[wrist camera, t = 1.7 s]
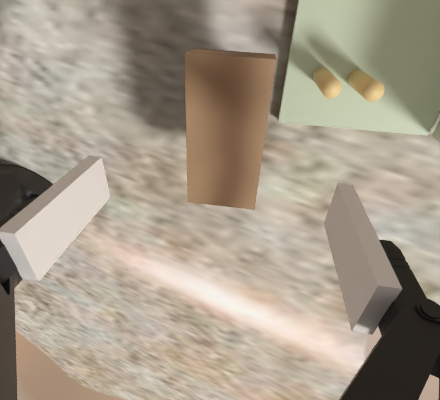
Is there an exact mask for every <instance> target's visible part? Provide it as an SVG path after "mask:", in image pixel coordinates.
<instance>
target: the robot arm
mask: <svg viewBox="0 0 440 400" xmlns="http://www.w3.org/2000/svg"><path fill="white" fill-rule="evenodd" d="M109 198H110V193H109V189H108V184H107V179H106V175H105V170H104V166H103V161H102V157H95V156H88V157H87V158H86V159H84V160H83V161H82V162H81V163H79V164H78V165H77V166H76V167H75V168H73V169H72V170H71V171H70V172H68V173H67V174H66V175H65V176H63V177H62V178H61V179H60V180H58V181H57V182H56V183H55V184H54V185H52V184H51V183H49V182H48V181H47V180H45V179H44V178H42V177H40V176H39V175H37V174H35V173H33V172H31V171H28V170H26V169H23V168H20V167H17V166H12V165H5V164H0V400H17V375H16V340H15V304H14V288H15V287H16V286H17V285H18V284H19V283H20V281H21V280H22V279H26V280H32V281H38V282H39V281H40V279H41V278H42V277H43V276H44V275H45V274H46V272H47V271H48V270H49V269H50V268H51V266H52V265H53V264H54V263H55V262H56V261H57V259H58V258H59V257H60V256H61V255H62V253H63V252H64V251H65V250H66V249H67V248H68V247H69V246H70V244H71V243H72V242H73V241H74V240H75V238H76V237H77V236H78V235H79V233H80V232H81V231H82V230H83V229H84V228H85V226H86V225H87V224H88V223H89V222H90V220H91V219H92V218H93V217H94V216H95V215H96V213H97V212H98V211H99V210H100V209H101V208H102V206H103V205H104V204H105V203H106V202H107V200H108V199H109ZM324 225H325V229H326V233H327V236H328V240H329V244H330V248H331V252H332V256H333V260H334V264H335V268H336V271H337V275H338V279H339V283H340V287H341V291H342V295H343V299H344V302H345V306H346V310H347V314H348V318H349V322H350V326H351V330H352V331H354V332H360V333H367V334H373V333H374V331H375V330H376V328H377V327H378V326H379V329H380V332H381V335H382V337H381V338H380V340H379V341H378V342H377V344H376V345H375V347H374V348H373V349H372V351H371V353H370V354H369V356H368V357H367V359H366V360H365V362H364V363H363V365H362V366H361V368H360V369H359V371H358V372H357V374H356V375H355V377H354V378H353V380H352V381H351V383H350V384H349V386H348V387H347V388H346V390H345V391H344V393H343V394H342V396H341V397H340V399H339V400H418V399H419V396H420V394H421V392H422V390H423V388H424V386H425V384H426V381H427V379H428V377H429V375H430V374H431V375H433V376H436V377H438V378H439V400H440V306H439V305H438V304H437V303H435V302H434V301H432V300H430V299H427V298H426V296H425V294H424V292H423V290H422V289H421V287H420V285H419V283H418V281H417V279H416V278H415V276H414V274H413V272H412V270H411V269H410V267H409V265H408V263H407V262H406V261H405V260H406V259H405V258H404V256H403V254H402V252H401V250H400V249H399V248H398V247H397V246H396V245H395V244H393V243H392V242H391V241H386V240H379V239H378V237H377V235H376V232H375V230H374V228H373V226H372V224H371V222H370V220H369V218H368V216H367V214H366V212H365V209H364V207H363V205H362V203H361V201H360V199H359V197H358V195H357V193H356V191H355V189H354V186H353V185H349V184H340V183H338V184H337V187H336V190H335V193H334V196H333V199H332V202H331V205H330V208H329V211H328V214H327V217H326V220H325V223H324Z"/></svg>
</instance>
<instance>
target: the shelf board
mask: <svg viewBox="0 0 440 400" xmlns="http://www.w3.org/2000/svg"><path fill="white" fill-rule="evenodd" d="M275 63H276V57H275V54H264V53H250V52H235V51H220V50H206V49H191V50H189V51H187V52H185V53H184V66H185V105H186V144H187V183H188V202H193V203H201V204H210V205H219V206H227V207H236V208H244V209H253V210H254V209H255V202H256V195H257V188H258V181H259V174H260V167H261V160H262V153H263V146H264V139H265V132H266V126H267V119H268V112H269V105H270V98H271V91H272V84H273V77H274V70H275Z"/></svg>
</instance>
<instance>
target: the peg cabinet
mask: <svg viewBox="0 0 440 400" xmlns="http://www.w3.org/2000/svg"><path fill="white" fill-rule="evenodd" d="M439 111H440V0H298V3H297V9H296V15H295V21H294V27H293V33H292V39H291V45H290V51H289V57H288V63H287V69H286V75H285V81H284V87H283V93H282V99H281V105H280V111H279V117H278V122H281V123H292V124H303V125H315V126H326V127H337V128H348V129H360V130H371V131H382V132H394V133H405V134H416V135H427V136H428V134H429V132H430V130H431V128H432V126H433V124H434V121H435V119H436V117H437V115H438V113H439ZM432 136H433V137H434V138H435V139H437V140H438V141H439V142H440V121H439V123H438V125H437V127H436V129H435V131H434V133H433V135H432Z"/></svg>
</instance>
